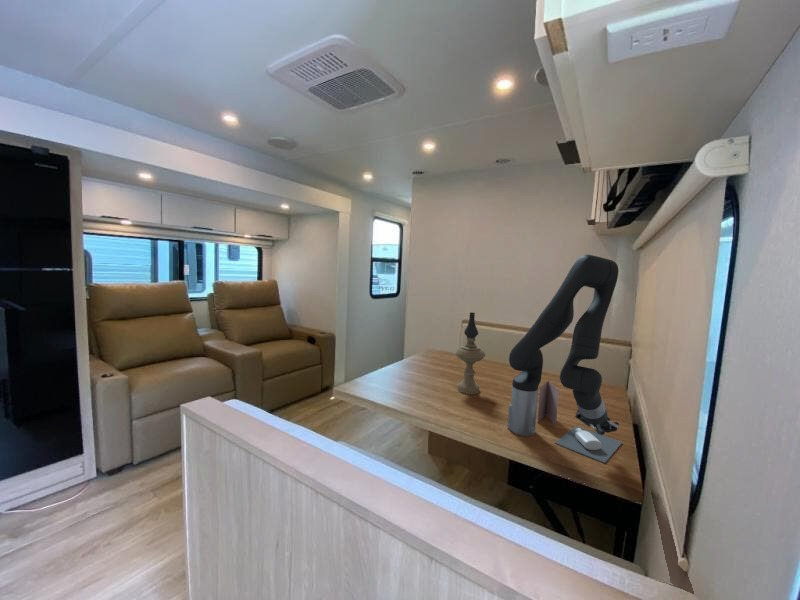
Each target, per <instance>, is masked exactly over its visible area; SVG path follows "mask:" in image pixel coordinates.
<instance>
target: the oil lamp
mask: <svg viewBox="0 0 800 600" xmlns="http://www.w3.org/2000/svg"><path fill="white" fill-rule="evenodd" d="M475 314H476V313H475V312H473V311H472V312H469V320H468V324H467V326H466V328H465V329H464V330H463V334H464V335H465V336H466V343H465V344H462V345H461V346H460V347H458V348H457V349H456V351H455V352H454V353H455V355H456V357H457V358H458V359H459V360H461V361H463V362H464V363H465V365H466V367H465V368H464V370H463V371H462V372H463V375H464V378H463V380H462V381H461V382H459V383H458V384H457V392H459V391H460V393H461V392H462V393H461V394H465V393H466V395H476V394H479V393H480V386H479V384H478V383H477V382H476V381H475V379H474V376H475V374H476V371H475V369H474V368H473V366H474V364H475V363H476V362H480V361H482V360H483V359H484V358H485V357H486V353H485V351H484V350H483V349H482V348H481V347H480V346H479V345H476V343H475V341H476V337H477V336H478V335H479V331H478V327H476V326H477V325H476V322H475V321H476V320H475V318H476V317H475V316H476V315H475Z"/></svg>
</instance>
